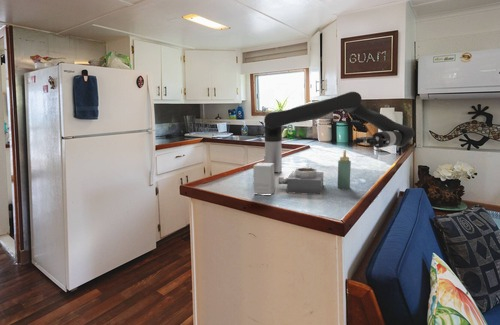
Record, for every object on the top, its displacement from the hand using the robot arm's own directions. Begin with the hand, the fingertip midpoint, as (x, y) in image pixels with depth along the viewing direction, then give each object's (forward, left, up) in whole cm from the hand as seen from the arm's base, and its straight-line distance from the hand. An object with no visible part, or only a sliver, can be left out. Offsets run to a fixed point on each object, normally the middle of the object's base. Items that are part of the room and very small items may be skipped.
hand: (362, 142), depth 140 cm
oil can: (-7, -9, -19) cm, 22 cm away
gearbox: (-26, -14, -19) cm, 35 cm away
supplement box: (-39, -25, -19) cm, 50 cm away
